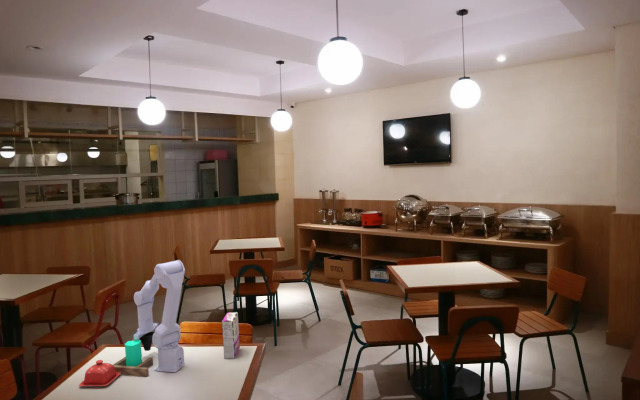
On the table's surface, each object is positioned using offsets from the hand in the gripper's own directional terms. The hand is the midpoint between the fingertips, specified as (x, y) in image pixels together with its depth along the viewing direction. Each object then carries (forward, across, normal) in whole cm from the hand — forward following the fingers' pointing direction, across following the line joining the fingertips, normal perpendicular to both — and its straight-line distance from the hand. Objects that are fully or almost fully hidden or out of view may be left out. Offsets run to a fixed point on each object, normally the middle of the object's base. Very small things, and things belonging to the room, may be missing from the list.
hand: (147, 350), depth 196 cm
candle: (+4, +9, 0) cm, 10 cm away
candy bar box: (+4, -10, +34) cm, 36 cm away
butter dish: (+4, +22, -6) cm, 23 cm away
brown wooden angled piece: (+4, +10, 0) cm, 11 cm away
